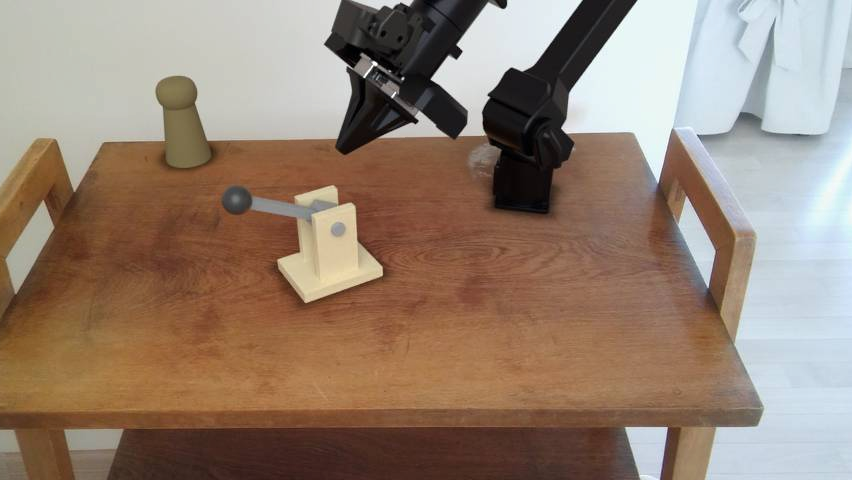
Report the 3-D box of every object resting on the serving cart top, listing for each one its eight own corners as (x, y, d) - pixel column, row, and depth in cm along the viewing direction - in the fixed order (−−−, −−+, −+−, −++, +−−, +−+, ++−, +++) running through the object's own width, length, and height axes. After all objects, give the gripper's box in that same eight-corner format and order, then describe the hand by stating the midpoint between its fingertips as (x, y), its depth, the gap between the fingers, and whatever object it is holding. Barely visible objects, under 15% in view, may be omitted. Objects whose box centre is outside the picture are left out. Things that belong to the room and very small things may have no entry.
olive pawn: (216, 147, 106) (204, 70, 99) (204, 168, 101) (190, 89, 94) (174, 146, 106) (158, 69, 100) (159, 167, 101) (142, 88, 95)
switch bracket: (305, 303, 77) (297, 230, 72) (278, 268, 82) (269, 197, 77) (383, 276, 81) (381, 204, 76) (352, 244, 86) (348, 174, 81)
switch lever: (223, 217, 70) (233, 190, 69) (213, 204, 72) (222, 177, 71) (338, 237, 78) (348, 212, 77) (326, 224, 80) (336, 200, 79)
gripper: (336, -59, 73) (242, 75, 75) (443, -10, 60) (324, 151, 62) (407, 11, 81) (319, 131, 83) (516, 67, 68) (408, 208, 70)
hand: (339, 151), depth 74 cm, fingers closed
